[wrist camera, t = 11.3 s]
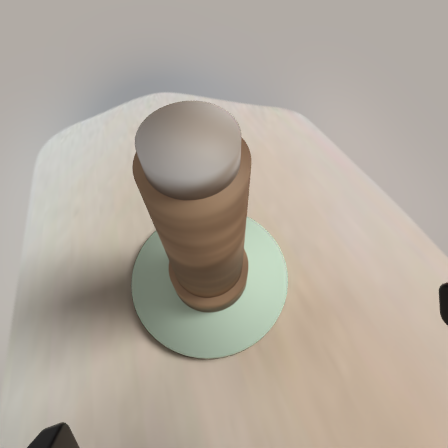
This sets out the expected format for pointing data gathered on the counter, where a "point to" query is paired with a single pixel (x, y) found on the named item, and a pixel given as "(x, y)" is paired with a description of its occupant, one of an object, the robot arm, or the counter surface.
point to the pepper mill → (197, 198)
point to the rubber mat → (215, 321)
